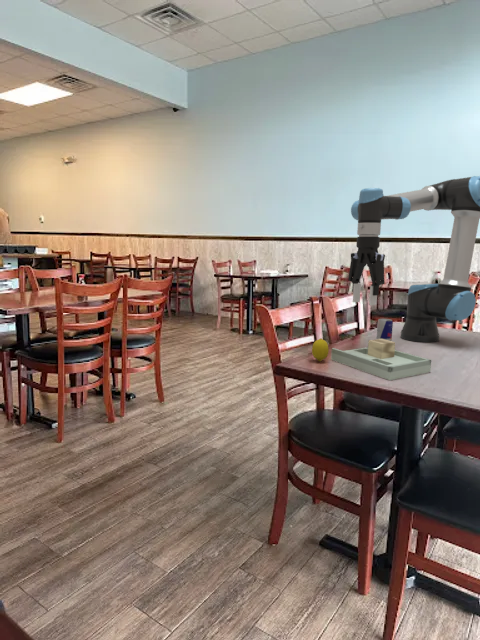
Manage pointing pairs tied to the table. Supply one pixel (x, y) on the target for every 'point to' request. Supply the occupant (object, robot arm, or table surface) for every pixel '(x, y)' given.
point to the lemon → (320, 349)
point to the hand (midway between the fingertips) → (364, 303)
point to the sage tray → (383, 363)
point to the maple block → (381, 348)
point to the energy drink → (384, 329)
